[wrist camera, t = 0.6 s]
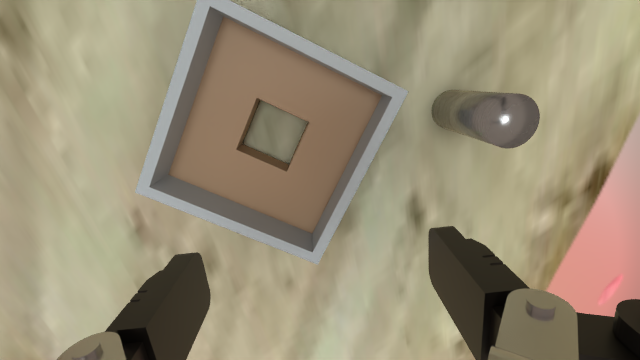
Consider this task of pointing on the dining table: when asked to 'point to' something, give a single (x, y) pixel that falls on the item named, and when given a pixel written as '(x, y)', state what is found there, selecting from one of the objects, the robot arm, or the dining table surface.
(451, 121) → the peg
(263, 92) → the bore box
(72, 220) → the dining table surface
